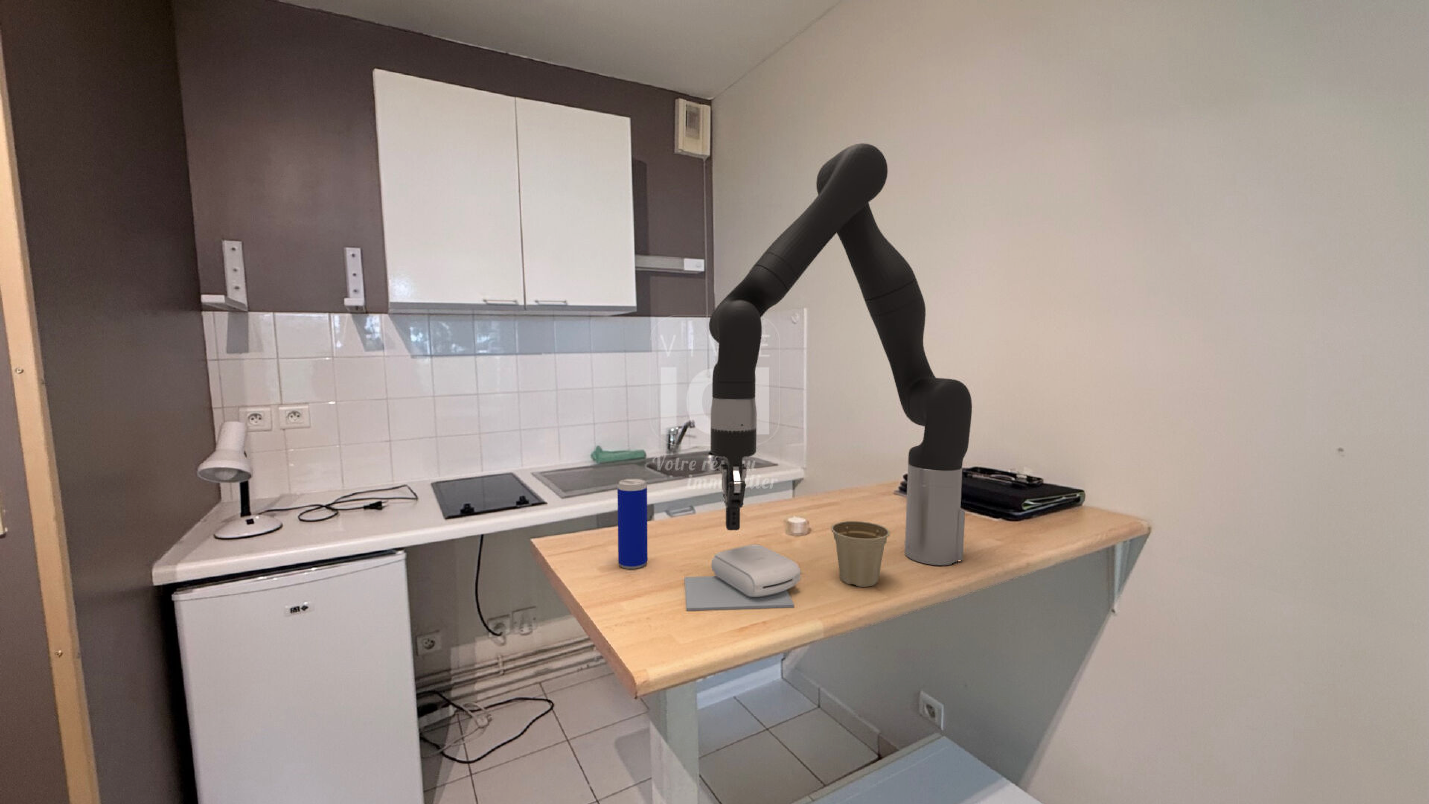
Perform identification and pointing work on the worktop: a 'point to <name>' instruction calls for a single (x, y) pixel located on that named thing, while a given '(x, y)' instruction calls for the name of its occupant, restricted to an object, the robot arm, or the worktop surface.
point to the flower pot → (859, 551)
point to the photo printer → (756, 570)
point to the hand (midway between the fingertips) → (732, 528)
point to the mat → (727, 596)
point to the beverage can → (632, 523)
